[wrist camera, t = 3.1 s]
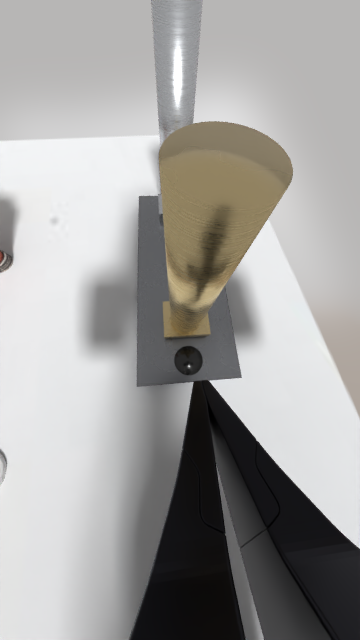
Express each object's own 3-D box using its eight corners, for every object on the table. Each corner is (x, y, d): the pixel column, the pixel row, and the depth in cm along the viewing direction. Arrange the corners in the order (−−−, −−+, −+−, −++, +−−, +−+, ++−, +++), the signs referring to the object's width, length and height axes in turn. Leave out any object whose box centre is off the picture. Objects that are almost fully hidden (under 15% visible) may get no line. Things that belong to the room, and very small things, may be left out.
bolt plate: (236, 376, 15) (703, 466, 2) (139, 384, 15) (-240, 608, 1) (206, 204, 22) (253, -33, 9) (140, 205, 22) (88, -47, 8)
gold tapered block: (208, 335, 15) (350, 216, 3) (164, 338, 14) (123, 221, 3) (204, 303, 16) (294, 117, 4) (163, 305, 15) (128, 112, 4)
